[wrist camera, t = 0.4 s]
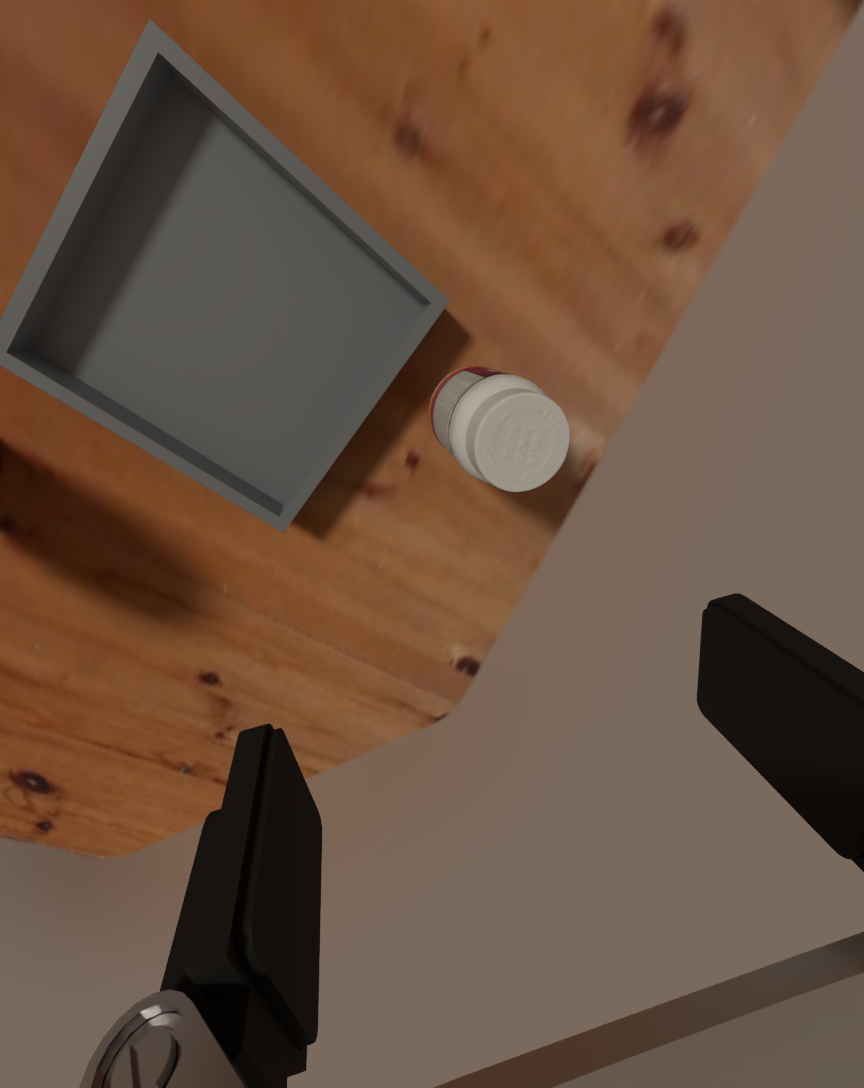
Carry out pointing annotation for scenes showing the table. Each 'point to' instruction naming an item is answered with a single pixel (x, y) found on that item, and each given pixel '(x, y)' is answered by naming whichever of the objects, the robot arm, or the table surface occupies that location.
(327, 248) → the tray
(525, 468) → the pill bottle
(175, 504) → the table surface
